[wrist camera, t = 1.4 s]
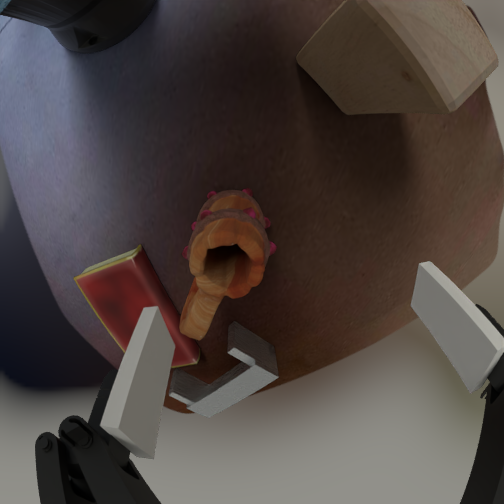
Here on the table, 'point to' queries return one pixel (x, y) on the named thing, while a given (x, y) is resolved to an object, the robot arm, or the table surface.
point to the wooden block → (399, 56)
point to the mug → (224, 256)
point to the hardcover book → (133, 301)
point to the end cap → (229, 375)
